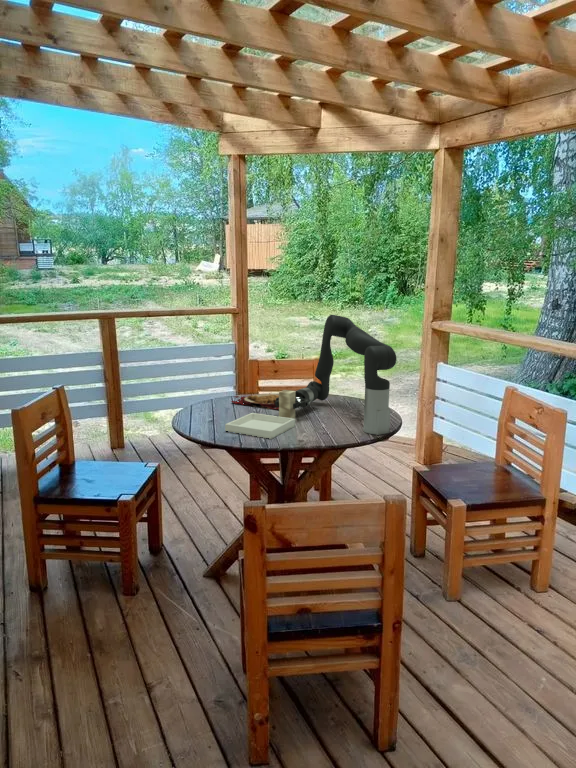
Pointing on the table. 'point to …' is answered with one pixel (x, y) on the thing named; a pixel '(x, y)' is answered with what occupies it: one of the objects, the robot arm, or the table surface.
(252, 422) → the tray
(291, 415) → the block
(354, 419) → the table surface
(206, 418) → the table surface
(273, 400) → the plate with food
